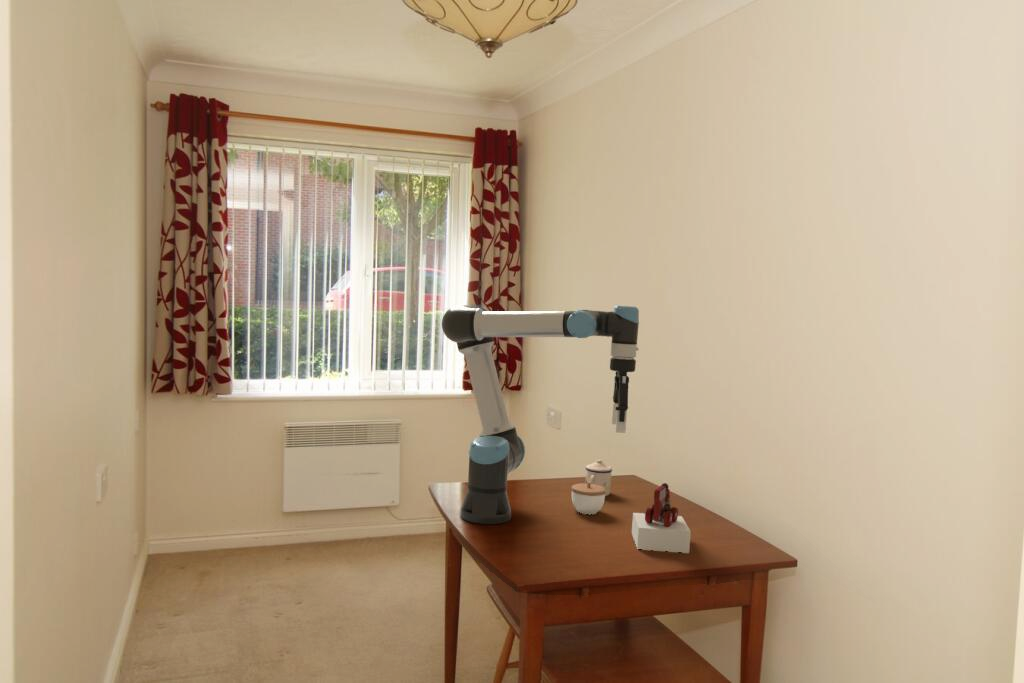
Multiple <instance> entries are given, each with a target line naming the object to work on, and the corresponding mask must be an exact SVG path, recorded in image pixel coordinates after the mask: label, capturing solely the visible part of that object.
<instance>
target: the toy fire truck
mask: <svg viewBox="0 0 1024 683" xmlns="http://www.w3.org/2000/svg"><path fill="white" fill-rule="evenodd" d="M670 495H671V492H670V489H669V484H668V483H665V482H663V483H662V484H661V485H660V486H658V487H657V488H656V489H655V490H654V492H653V504H652V506H651V507H647V508H646V510H645V521H646V522H648V523H651V522H652V521H653V519H654V521H660V522H661V521H662V520H664V525H665V526H668V527H670V526H671V524H672V522H676V520H677V517H678V516H679V509H678V508H677V507H675V506H674V507H673V506H672V507H671V496H670Z"/></svg>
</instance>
